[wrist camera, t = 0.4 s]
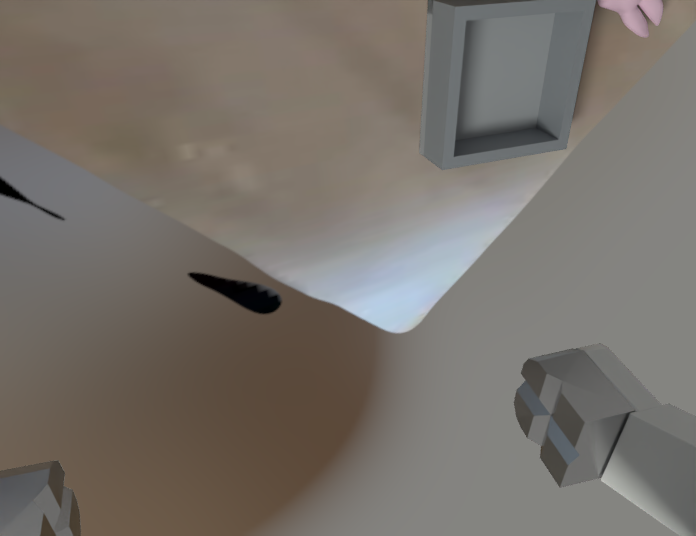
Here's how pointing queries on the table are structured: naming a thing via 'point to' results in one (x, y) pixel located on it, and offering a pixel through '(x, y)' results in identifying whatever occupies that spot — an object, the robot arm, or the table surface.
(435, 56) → the cartridge bin
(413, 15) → the table surface
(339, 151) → the table surface
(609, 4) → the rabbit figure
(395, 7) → the table surface
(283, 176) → the table surface
